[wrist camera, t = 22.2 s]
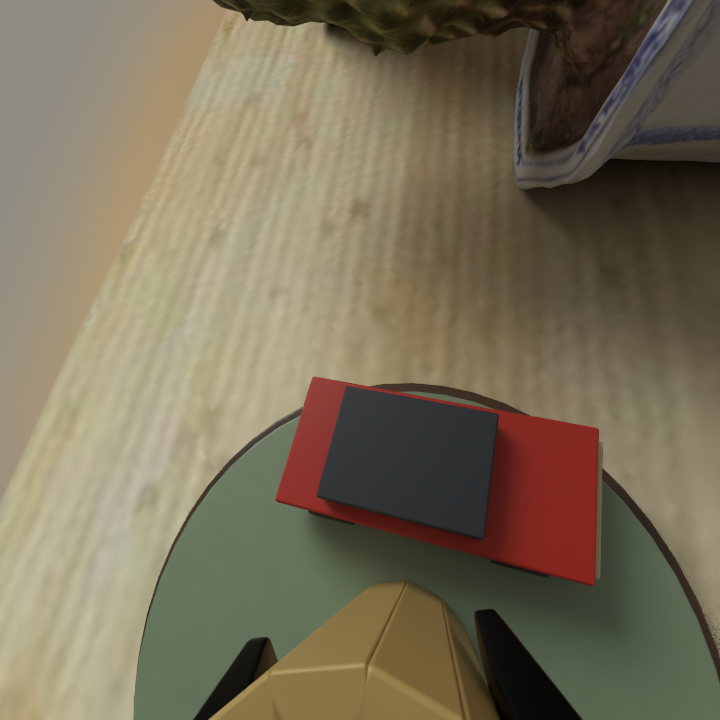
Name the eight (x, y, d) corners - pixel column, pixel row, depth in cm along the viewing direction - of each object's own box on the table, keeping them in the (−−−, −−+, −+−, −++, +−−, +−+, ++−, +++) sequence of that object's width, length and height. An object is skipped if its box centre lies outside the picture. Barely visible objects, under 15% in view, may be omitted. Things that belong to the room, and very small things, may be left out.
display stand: (831, 1250, 8) (870, 1318, 7) (68, 981, 11) (43, 1011, 11) (653, 397, 15) (664, 389, 15) (215, 382, 19) (207, 376, 18)
